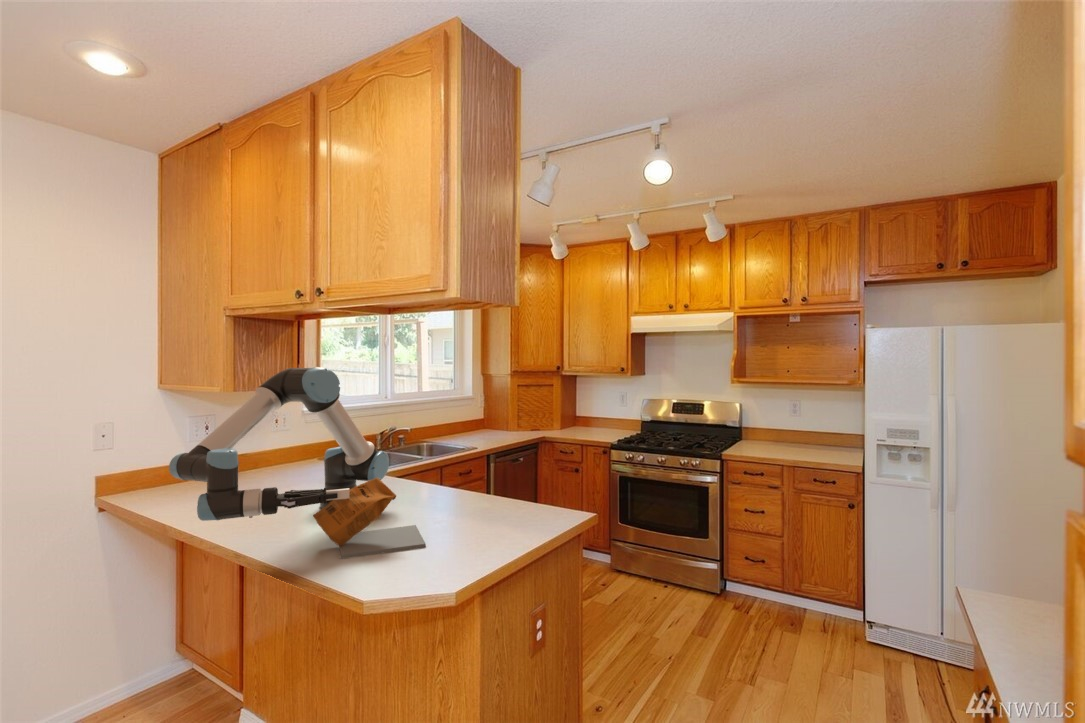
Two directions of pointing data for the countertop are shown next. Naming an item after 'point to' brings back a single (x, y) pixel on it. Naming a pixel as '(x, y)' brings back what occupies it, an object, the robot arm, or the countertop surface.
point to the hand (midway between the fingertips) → (349, 493)
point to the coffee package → (354, 510)
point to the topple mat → (382, 541)
